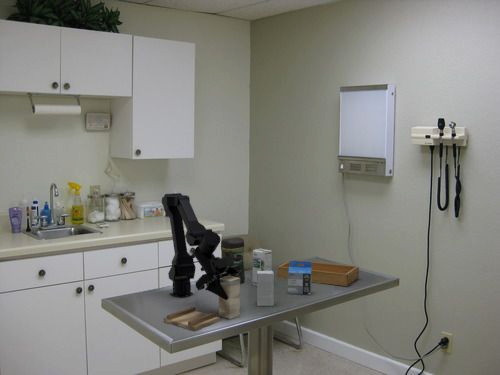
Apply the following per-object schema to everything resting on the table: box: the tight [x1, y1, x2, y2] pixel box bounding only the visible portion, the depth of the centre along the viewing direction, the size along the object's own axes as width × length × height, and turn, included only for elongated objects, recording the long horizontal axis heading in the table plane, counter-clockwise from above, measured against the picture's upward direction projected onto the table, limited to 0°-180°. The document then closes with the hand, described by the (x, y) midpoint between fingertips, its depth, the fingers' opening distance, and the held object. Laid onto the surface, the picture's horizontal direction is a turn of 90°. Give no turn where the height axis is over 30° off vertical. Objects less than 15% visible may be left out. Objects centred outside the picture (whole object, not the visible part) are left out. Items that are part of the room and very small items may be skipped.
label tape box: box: [287, 260, 312, 296], centre depth 224 cm, size 9×4×12 cm, turn 80°
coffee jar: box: [220, 236, 246, 284], centre depth 239 cm, size 10×8×19 cm
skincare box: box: [256, 270, 275, 307], centre depth 209 cm, size 6×4×12 cm
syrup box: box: [251, 248, 273, 287], centre depth 235 cm, size 6×6×14 cm
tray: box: [277, 259, 359, 287], centre depth 247 cm, size 31×15×6 cm, turn 62°
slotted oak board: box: [163, 306, 221, 332], centre depth 191 cm, size 14×12×2 cm
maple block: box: [218, 276, 241, 320], centre depth 196 cm, size 5×5×13 cm
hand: (232, 297), depth 195 cm, fingers closed on maple block, 5 cm apart
